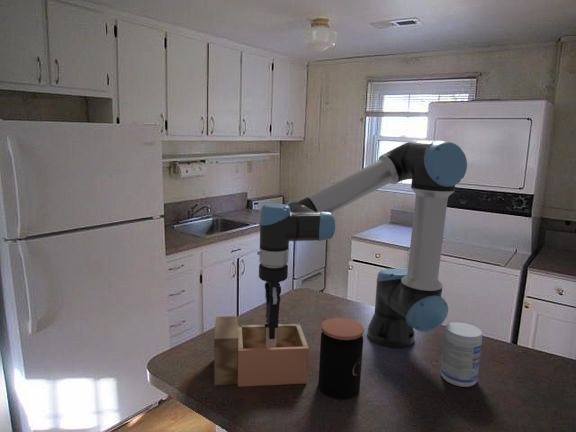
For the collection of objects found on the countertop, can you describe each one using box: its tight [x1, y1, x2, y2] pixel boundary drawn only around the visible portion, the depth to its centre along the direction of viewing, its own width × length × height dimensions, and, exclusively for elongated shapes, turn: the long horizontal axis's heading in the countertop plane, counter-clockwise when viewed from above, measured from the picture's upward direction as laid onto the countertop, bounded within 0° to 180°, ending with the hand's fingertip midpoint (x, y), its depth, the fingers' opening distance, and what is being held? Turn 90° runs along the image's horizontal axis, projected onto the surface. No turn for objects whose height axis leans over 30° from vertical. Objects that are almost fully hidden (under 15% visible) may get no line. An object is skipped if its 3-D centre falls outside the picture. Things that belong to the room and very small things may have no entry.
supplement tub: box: [440, 321, 483, 388], centre depth 117 cm, size 10×10×15 cm
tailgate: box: [237, 346, 310, 388], centre depth 110 cm, size 18×1×10 cm, turn 98°
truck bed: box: [213, 315, 309, 386], centre depth 116 cm, size 24×13×14 cm, turn 98°
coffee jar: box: [317, 317, 365, 401], centre depth 109 cm, size 11×11×18 cm
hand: (270, 347), depth 115 cm, fingers closed
